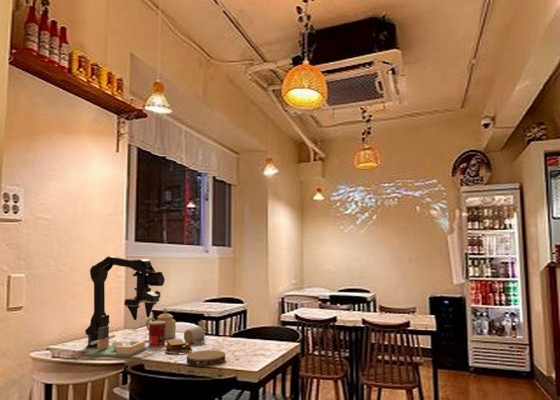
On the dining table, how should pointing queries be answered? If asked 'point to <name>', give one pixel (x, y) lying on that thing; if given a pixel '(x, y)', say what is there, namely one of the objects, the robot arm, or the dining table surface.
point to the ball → (116, 344)
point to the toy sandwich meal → (177, 346)
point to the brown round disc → (206, 358)
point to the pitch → (119, 350)
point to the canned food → (156, 333)
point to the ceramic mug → (194, 336)
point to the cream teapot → (166, 324)
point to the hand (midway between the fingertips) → (141, 318)
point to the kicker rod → (103, 338)
